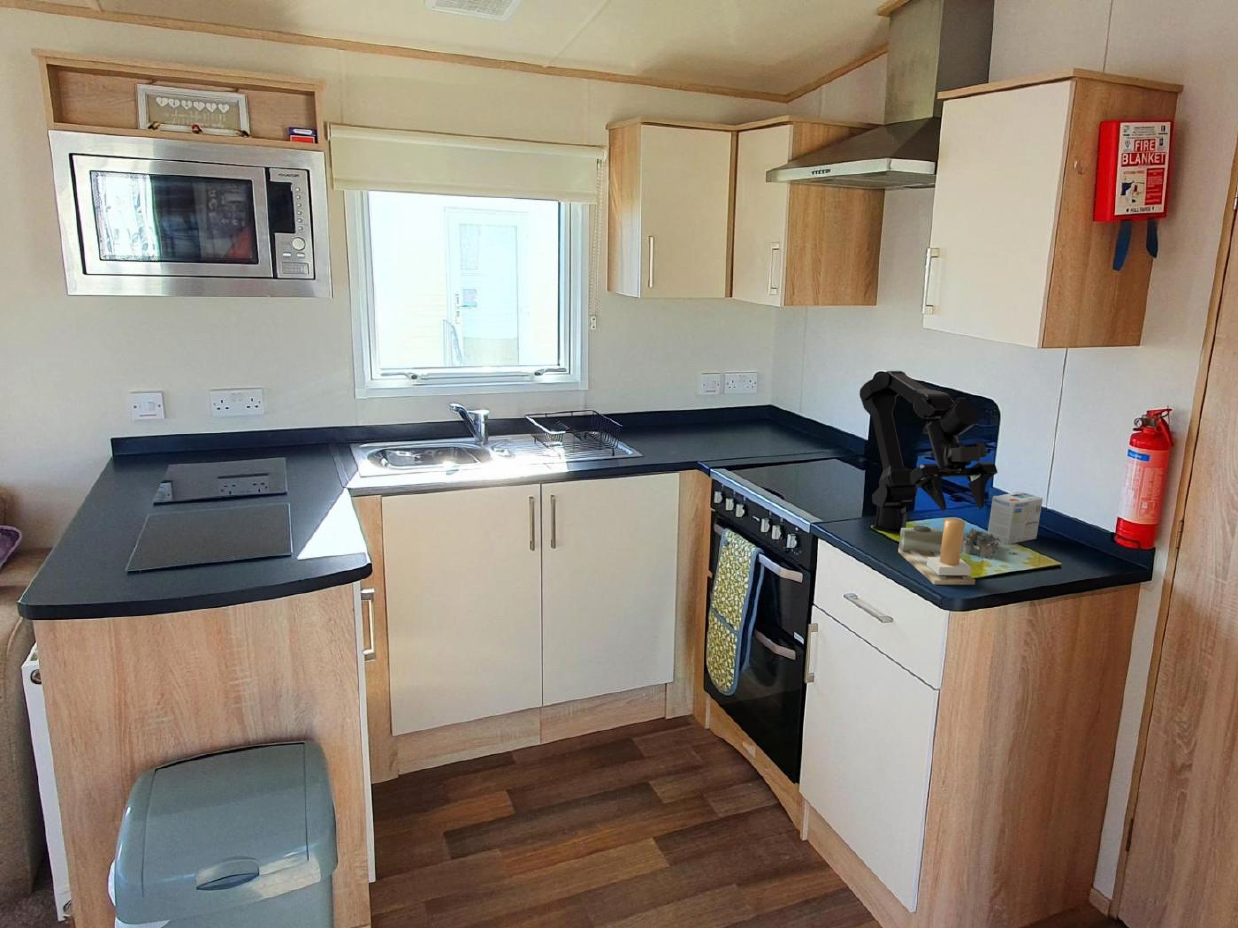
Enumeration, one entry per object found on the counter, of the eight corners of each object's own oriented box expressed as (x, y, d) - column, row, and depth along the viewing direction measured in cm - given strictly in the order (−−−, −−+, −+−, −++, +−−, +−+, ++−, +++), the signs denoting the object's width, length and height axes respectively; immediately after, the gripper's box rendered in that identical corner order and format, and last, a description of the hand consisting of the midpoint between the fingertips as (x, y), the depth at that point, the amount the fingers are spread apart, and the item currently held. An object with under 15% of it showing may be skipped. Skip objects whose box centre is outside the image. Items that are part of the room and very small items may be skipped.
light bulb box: (1014, 531, 220) (1020, 490, 217) (1037, 539, 214) (1044, 497, 211) (985, 536, 215) (991, 495, 212) (1008, 545, 209) (1015, 502, 206)
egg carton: (988, 560, 199) (991, 543, 198) (955, 552, 203) (958, 536, 202) (1001, 548, 207) (1004, 532, 206) (969, 541, 211) (972, 525, 210)
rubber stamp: (926, 564, 188) (932, 516, 186) (957, 564, 189) (964, 516, 186) (938, 575, 183) (945, 525, 180) (970, 575, 183) (977, 525, 180)
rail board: (897, 551, 202) (900, 525, 200) (934, 551, 203) (937, 525, 201) (933, 584, 182) (937, 556, 181) (974, 584, 183) (978, 556, 182)
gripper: (927, 430, 185) (945, 498, 179) (1002, 428, 189) (1022, 494, 183) (901, 450, 195) (918, 515, 189) (973, 448, 199) (991, 512, 193)
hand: (963, 509), depth 188 cm, fingers open, 9 cm apart
